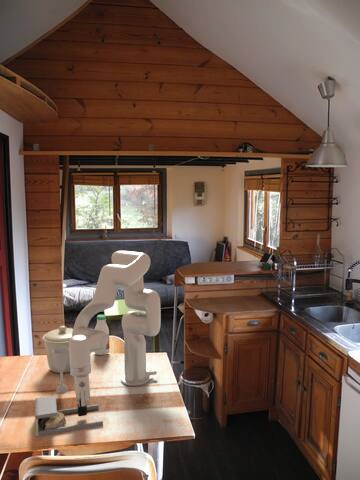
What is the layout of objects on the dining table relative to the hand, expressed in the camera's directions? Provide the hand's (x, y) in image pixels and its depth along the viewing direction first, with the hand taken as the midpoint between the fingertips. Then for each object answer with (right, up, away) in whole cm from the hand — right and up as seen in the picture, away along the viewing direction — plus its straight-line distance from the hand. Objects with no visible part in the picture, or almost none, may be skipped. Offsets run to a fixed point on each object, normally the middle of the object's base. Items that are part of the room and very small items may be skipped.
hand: (82, 414), depth 163 cm
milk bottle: (-4, +7, +63) cm, 64 cm away
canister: (-19, +4, +44) cm, 48 cm away
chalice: (-14, +1, +23) cm, 26 cm away
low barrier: (-5, -2, -2) cm, 5 cm away
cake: (-10, -3, -4) cm, 11 cm away
